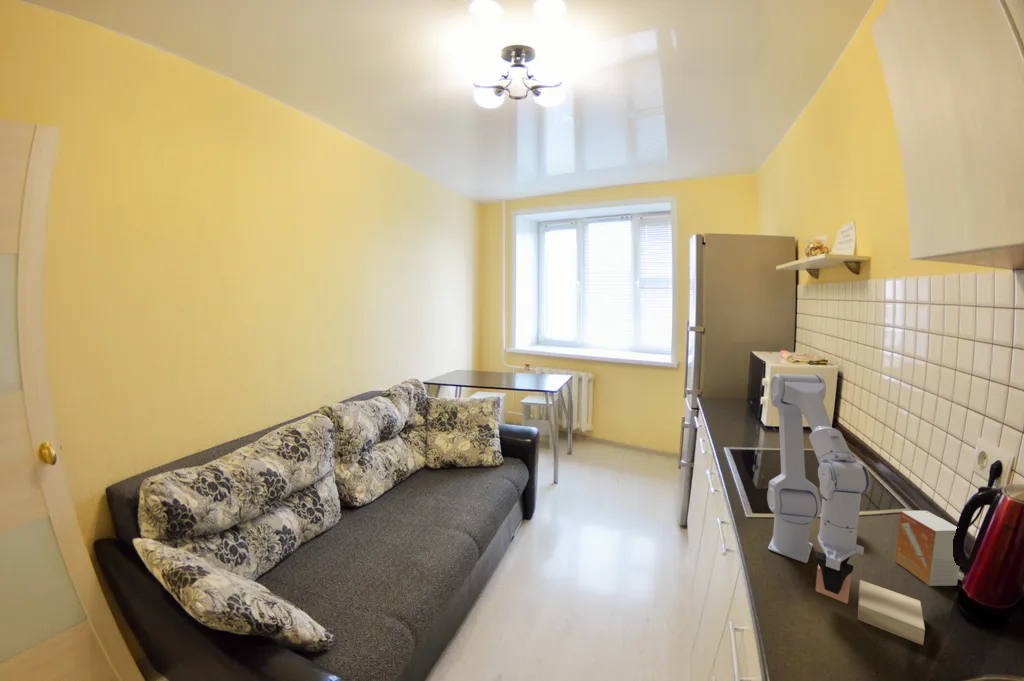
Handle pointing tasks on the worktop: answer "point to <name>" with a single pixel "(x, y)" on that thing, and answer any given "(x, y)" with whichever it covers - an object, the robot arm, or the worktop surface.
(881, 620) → the birch base block
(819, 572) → the terracotta cube
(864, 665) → the worktop surface
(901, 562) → the small box
